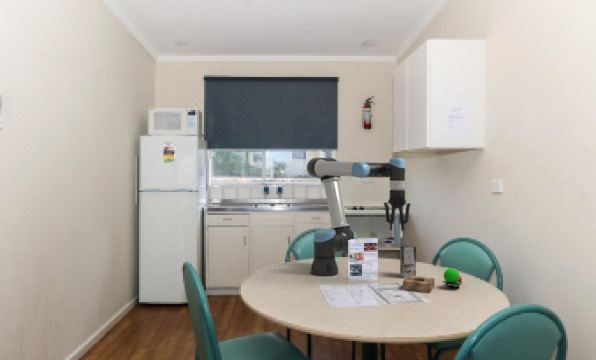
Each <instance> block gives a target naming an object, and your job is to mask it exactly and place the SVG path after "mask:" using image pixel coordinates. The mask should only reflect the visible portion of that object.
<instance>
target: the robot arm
mask: <svg viewBox="0 0 596 360" xmlns="http://www.w3.org/2000/svg"><path fill="white" fill-rule="evenodd" d="M306 171H307V173H308V175H309V176H311V177H312V178H315V179H320V184H322V185H323V186H324V191H325V196H326V202H327V208H328V212H329V217H330V224H331V226H330V228H321V229H317V230H316V231H315V232H314V234H313V259H312V260H313V261H312V263H311V266H310V274H311V275H313V274H314V276H318V277H330V276H337V275H339V266H338V264H337V260H336V253H338V252H345V251H349V250H348V240H350V239H356V240H357V234H356V232H355V231H354V229H351V224H349V223H348V222H347V219H346V214H345V213H346V212H345V208H344V203H343V197H342V193H341V187H340V182H341V181H340V180H341V179H342V178H341V177H351V178H352V177H353V178H359V179H364V178H371V179H373V178H378V179H380V178H389V198H388V200H387V201H385V202H384V203H383V206H384V209H385V222H386V223H388V224H389V229H390V231H391V237H392V238H394V217H395V214H396V210H397V209H398V212H399V213H398V214H399V217H400V220H401V224H399V238H403V231H405V224H407V223H409V217H410V208H411V206H412V202H408V201H407V199H406V160H405V159H404V158H403V157H402V158H401V157H400V158H399V157H395V158H390V159H389V162H370V161H369V162H367V161H366V162H365V161H358V162H357V161H340V160H339V159H337V158H333V157H314V158H311V159H309V161H308V162H307V164H306ZM390 206H391V213H390ZM404 206H405V216H404V208H403V207H404Z"/></svg>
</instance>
